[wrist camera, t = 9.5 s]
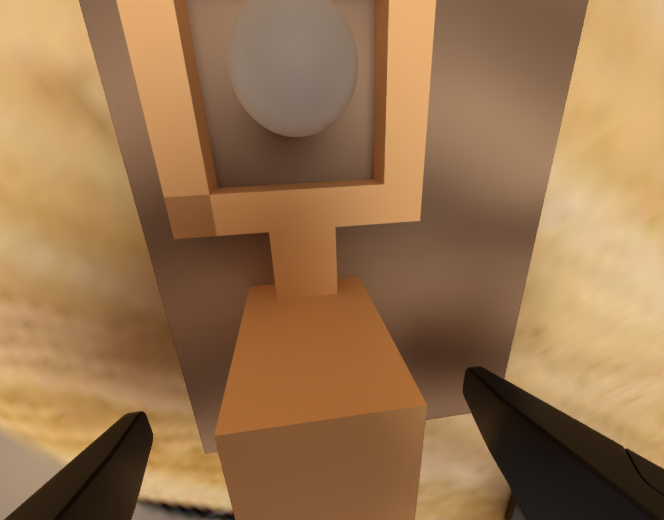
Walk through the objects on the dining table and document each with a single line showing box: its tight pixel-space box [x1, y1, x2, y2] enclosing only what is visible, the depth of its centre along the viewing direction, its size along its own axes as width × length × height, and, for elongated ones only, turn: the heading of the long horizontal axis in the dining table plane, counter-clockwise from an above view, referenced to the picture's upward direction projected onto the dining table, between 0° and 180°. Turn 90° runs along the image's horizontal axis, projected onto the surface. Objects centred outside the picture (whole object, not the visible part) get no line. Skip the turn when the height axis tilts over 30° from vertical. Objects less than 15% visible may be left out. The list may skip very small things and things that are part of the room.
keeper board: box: [79, 0, 588, 453], centre depth 9 cm, size 20×14×7 cm
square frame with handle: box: [116, 0, 436, 520], centre depth 7 cm, size 14×7×6 cm, turn 2°
